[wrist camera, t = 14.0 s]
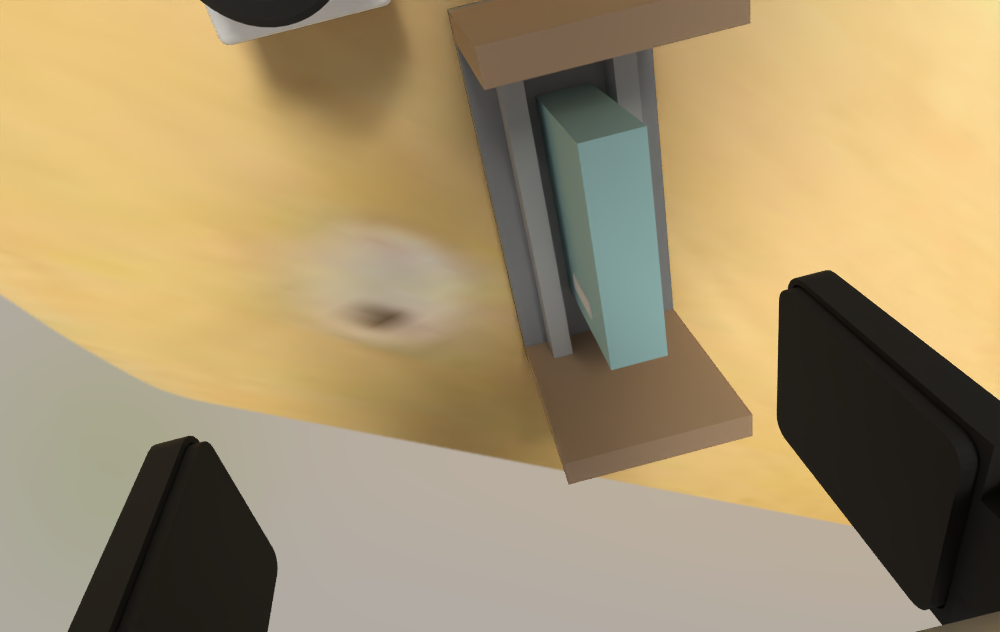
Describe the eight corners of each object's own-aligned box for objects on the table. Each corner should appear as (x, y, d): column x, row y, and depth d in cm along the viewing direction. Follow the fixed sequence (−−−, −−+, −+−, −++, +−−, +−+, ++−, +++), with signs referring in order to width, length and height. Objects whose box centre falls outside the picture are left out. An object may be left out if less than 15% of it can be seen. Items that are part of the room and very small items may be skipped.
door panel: (533, 96, 35) (574, 144, 28) (591, 81, 35) (649, 125, 28) (567, 288, 41) (609, 370, 34) (617, 275, 42) (669, 354, 34)
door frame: (447, 9, 33) (474, 46, 23) (639, -39, 34) (750, -23, 23) (527, 356, 45) (568, 484, 35) (669, 319, 45) (752, 435, 35)
